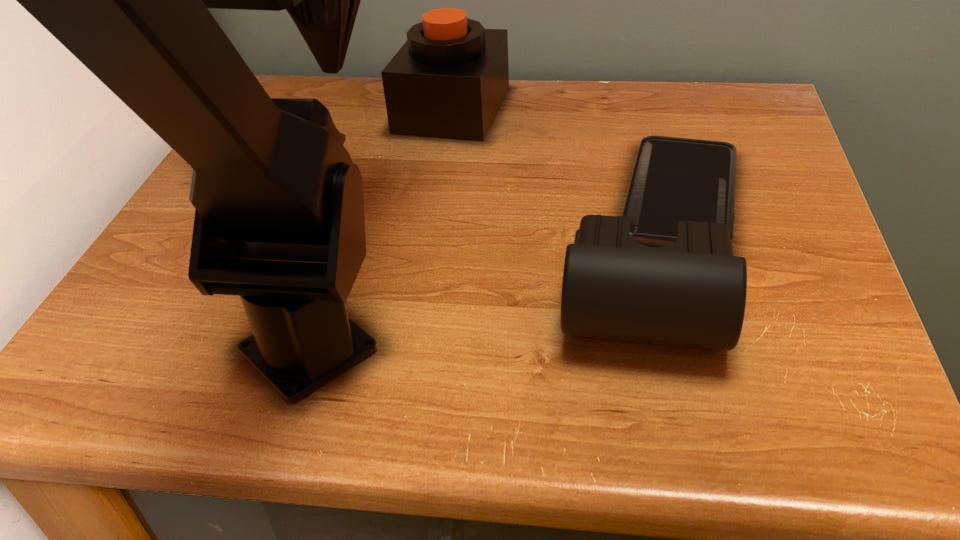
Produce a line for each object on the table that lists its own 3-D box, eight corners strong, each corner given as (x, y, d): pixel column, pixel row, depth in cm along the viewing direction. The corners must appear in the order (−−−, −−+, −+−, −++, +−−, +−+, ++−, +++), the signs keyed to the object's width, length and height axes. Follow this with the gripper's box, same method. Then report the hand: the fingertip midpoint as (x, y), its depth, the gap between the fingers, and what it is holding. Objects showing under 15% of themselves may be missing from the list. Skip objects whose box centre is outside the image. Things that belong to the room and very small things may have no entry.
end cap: (558, 362, 44) (560, 276, 40) (570, 287, 50) (573, 204, 45) (730, 380, 42) (751, 292, 38) (722, 300, 48) (741, 215, 43)
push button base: (483, 142, 66) (479, 57, 61) (389, 134, 68) (378, 51, 63) (509, 89, 74) (507, 10, 69) (424, 84, 76) (416, 7, 71)
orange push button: (461, 44, 64) (460, 24, 63) (418, 42, 65) (416, 22, 64) (472, 27, 67) (471, 8, 66) (431, 25, 68) (429, 6, 67)
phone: (617, 234, 52) (643, 133, 63) (616, 246, 53) (641, 145, 64) (733, 249, 50) (738, 142, 61) (730, 262, 51) (736, 154, 62)
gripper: (230, -227, 47) (284, 15, 56) (23, -181, 33) (142, 130, 43) (394, -234, 44) (420, 21, 54) (246, -187, 30) (318, 144, 40)
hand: (332, 71), depth 48 cm, fingers closed
